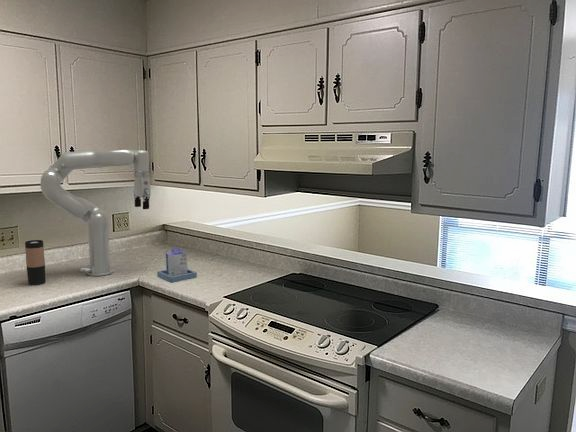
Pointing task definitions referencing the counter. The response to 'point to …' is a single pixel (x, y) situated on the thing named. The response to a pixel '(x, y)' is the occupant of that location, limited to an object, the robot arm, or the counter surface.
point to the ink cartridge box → (176, 263)
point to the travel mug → (35, 262)
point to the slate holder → (171, 279)
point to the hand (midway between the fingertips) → (141, 207)
